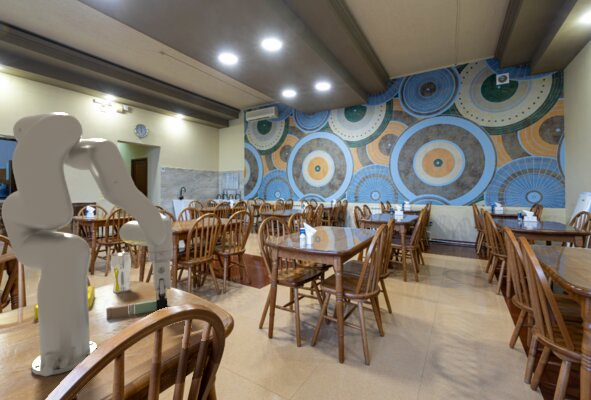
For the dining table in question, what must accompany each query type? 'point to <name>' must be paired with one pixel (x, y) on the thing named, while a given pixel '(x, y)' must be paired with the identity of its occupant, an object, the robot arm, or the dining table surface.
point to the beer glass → (121, 271)
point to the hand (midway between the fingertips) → (161, 306)
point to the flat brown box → (119, 311)
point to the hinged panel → (146, 306)
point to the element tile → (90, 300)
